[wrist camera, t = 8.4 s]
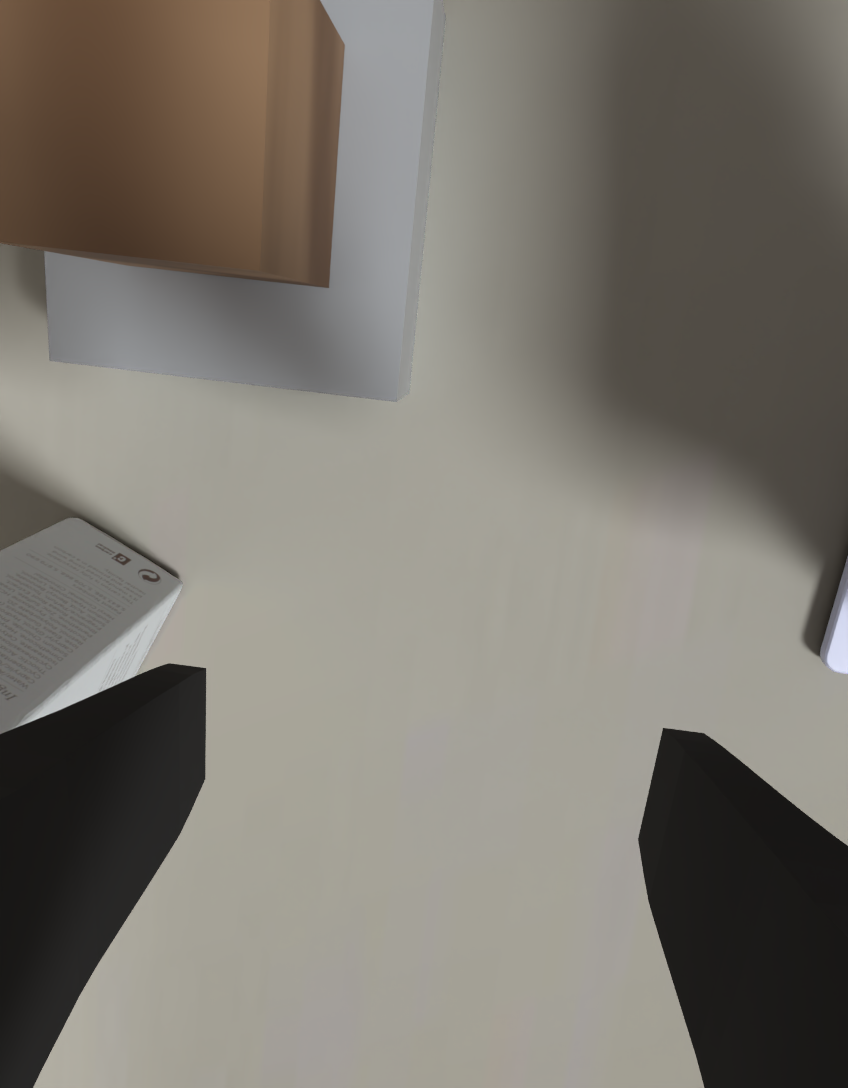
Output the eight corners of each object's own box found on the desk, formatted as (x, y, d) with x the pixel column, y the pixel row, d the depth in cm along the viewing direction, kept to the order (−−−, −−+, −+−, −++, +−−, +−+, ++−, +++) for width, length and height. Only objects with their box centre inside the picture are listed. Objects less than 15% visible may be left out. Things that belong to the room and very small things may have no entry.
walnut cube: (344, 44, 15) (273, -85, 11) (328, 288, 17) (259, 270, 12) (123, 25, 16) (-41, -107, 11) (127, 265, 17) (-17, 240, 12)
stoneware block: (447, 26, 18) (436, -33, 15) (411, 391, 20) (396, 402, 18) (102, -2, 18) (27, -63, 15) (111, 356, 21) (49, 360, 18)
